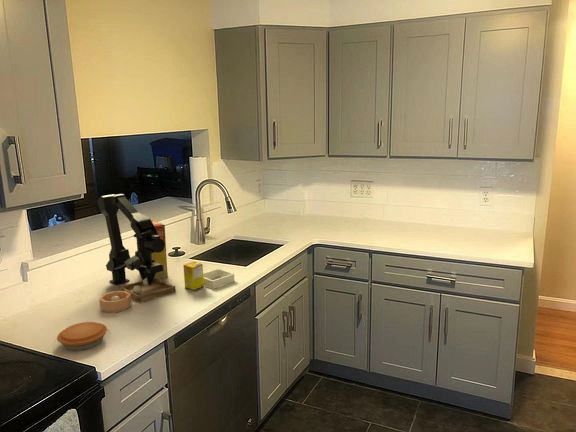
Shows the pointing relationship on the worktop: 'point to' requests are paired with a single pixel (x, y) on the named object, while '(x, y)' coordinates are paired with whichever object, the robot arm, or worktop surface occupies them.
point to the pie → (82, 335)
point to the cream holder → (226, 279)
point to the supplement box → (193, 276)
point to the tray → (149, 290)
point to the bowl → (115, 305)
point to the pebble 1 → (115, 298)
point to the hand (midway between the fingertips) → (147, 283)
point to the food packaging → (160, 256)
